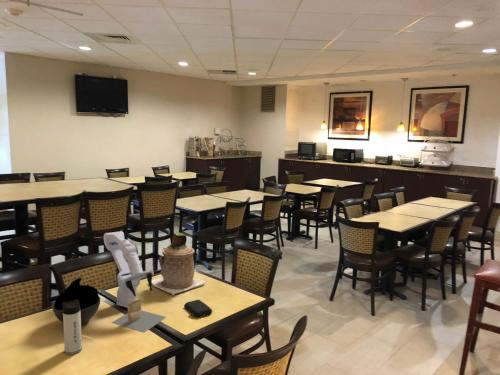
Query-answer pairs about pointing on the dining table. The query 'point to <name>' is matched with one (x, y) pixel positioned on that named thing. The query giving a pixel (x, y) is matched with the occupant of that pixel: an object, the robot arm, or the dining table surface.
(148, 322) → the mat
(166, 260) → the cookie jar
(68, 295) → the bowl of black rocks
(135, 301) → the brown wooden block
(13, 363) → the dining table surface
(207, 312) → the carrying case or bag
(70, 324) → the travel mug
